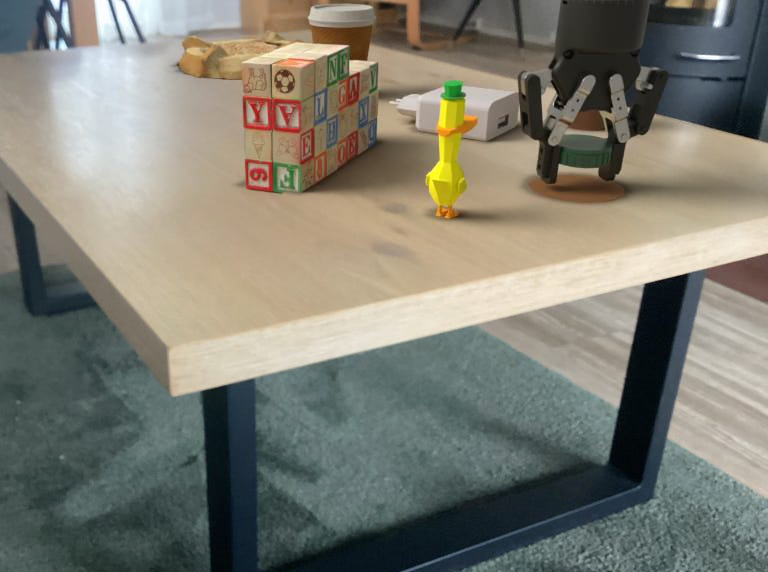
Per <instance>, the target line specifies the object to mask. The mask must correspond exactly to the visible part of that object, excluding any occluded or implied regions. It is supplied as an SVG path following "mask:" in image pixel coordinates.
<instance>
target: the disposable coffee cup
mask: <svg viewBox="0 0 768 572" xmlns="http://www.w3.org/2000/svg"><path fill="white" fill-rule="evenodd" d="M376 19H377V15H375V10H374V6H373V5H368V4H362V3H361V4H357V3H325V4H316V5H313V6H311V7H310V11H309V15H308V16H307V20H308V22H309V25H310V28H311V29H310V30H311V39H312V44H330V45H348V46H350V54H349V60H359V61H368V59H369V58H368V57H369V51H370V45H371V39H372V32H373V25H375V20H376Z"/></svg>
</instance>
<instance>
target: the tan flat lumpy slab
mask: <svg viewBox="0 0 768 572" xmlns="http://www.w3.org/2000/svg"><path fill="white" fill-rule="evenodd" d="M296 42H297V43H307V42H306V41H305V40H303V39H302V38H301V39H295V40H292V41H290V40H286V38H285V37H284V36H282V35H280V33H278V32H275V31H273V30H271V29H267V30H266V31H265V34H264V35H262V38H261V39H260V38H250V39H249V38H238V39H228V40H222V41H221V40H220V41H213V42H211V41H207V40H205V39H203V38H201V37H198V36H196V35H193V34H192V35H189V36H188V37H186V38H185V39H184V40H183V41H182V42H181V46H182V48H183V49H184V51H183V54H182V55H181V58H180V59H179V61H177V63H176V65H175V66H177V67H179V69H180V70H181V71H182V72H183V73H185V74H186V75H191V76H193V77H195V78H208V79H209V78H210V79H218V80H219V79H226V80H242V62H244V61H247V60H249V59H252V58H255V57H259V56H262V55H264V54H267V53H270V52H273V51H274V50H276V49H279V48H282V47H285V46H288V45H290V44H293V43H296Z"/></svg>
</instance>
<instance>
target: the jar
mask: <svg viewBox="0 0 768 572" xmlns="http://www.w3.org/2000/svg"><path fill="white" fill-rule="evenodd" d="M567 128H569V129H572V130H577V131H586V132H589V131H590V132H598V131H606V130H605V125H604V121H603V117H602V116H601V114H600V112H599V110H595V109H591V110H588V111H585V112H578V114H577V116H576V118H575V120H574V121H573V123H572V124H570V125H569V126H568V127H567Z"/></svg>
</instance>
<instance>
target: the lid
mask: <svg viewBox="0 0 768 572" xmlns="http://www.w3.org/2000/svg"><path fill="white" fill-rule="evenodd" d="M604 138H605V137H600V136H596V135H590V134H581V133H579V134H577V133H574V134H573V133H571V134H569V133H568V134H564V135H563V137H562V139H561V141H560V142H559V144H558V145H559V146H561V153H560V160H559V165H560V166H561V165H562V166H565V167H569V168H570V167H571V168H576V169H599V167H604V166H607V165H608V164H609V163H611V158H612V153H613V143H611V142H609V140H606V139H604Z"/></svg>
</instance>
